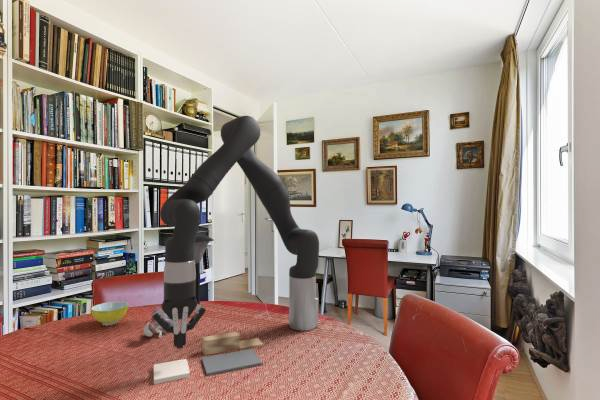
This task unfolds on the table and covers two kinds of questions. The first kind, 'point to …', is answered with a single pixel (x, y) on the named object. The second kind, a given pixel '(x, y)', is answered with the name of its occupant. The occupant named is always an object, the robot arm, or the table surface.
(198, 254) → the solar garden light
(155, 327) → the figurine
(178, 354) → the table surface
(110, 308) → the bowl
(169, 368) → the tile
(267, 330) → the table surface
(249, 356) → the mat
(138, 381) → the table surface
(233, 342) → the beige wooden bar
